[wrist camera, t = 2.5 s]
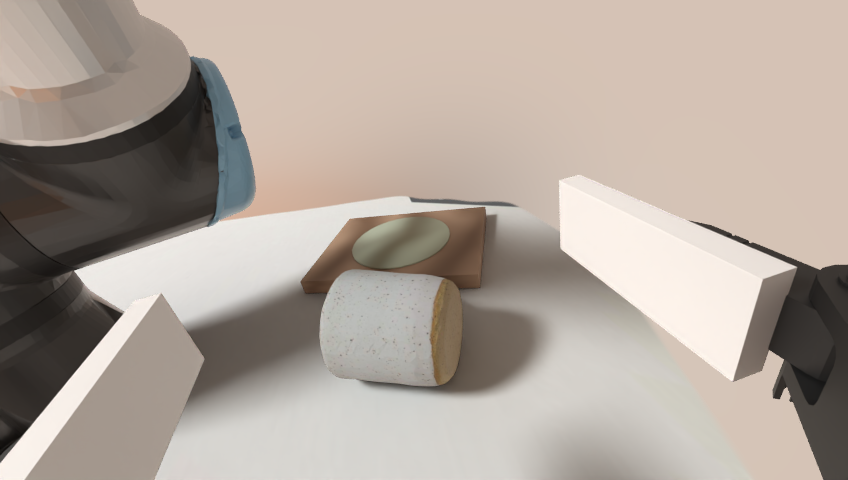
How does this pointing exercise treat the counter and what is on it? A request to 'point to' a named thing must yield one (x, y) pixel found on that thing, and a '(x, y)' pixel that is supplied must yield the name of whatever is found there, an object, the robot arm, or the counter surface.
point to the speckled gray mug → (392, 328)
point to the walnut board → (406, 247)
